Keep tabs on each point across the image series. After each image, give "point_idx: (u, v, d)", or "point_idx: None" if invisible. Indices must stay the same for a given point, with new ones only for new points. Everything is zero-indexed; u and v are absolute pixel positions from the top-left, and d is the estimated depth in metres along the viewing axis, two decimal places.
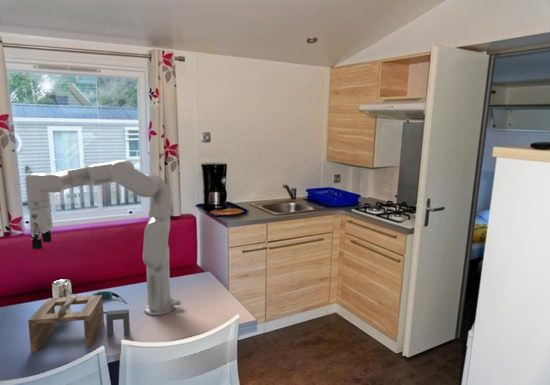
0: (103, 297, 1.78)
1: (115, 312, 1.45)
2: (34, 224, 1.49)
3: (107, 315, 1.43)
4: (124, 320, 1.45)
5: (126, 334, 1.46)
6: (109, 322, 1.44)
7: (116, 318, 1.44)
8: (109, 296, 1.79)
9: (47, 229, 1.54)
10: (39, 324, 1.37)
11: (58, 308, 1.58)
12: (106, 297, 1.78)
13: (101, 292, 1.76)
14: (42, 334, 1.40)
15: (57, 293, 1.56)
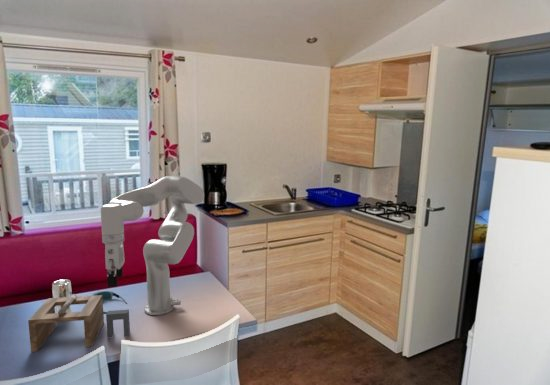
0: (103, 297, 1.78)
1: (115, 312, 1.45)
2: (109, 259, 1.37)
3: (107, 315, 1.43)
4: (124, 320, 1.45)
5: (126, 334, 1.46)
6: (109, 322, 1.44)
7: (116, 318, 1.44)
8: (109, 296, 1.79)
9: (121, 264, 1.42)
10: (39, 324, 1.37)
11: (58, 308, 1.58)
12: (106, 297, 1.78)
13: (101, 292, 1.76)
14: (42, 334, 1.40)
15: (57, 293, 1.56)
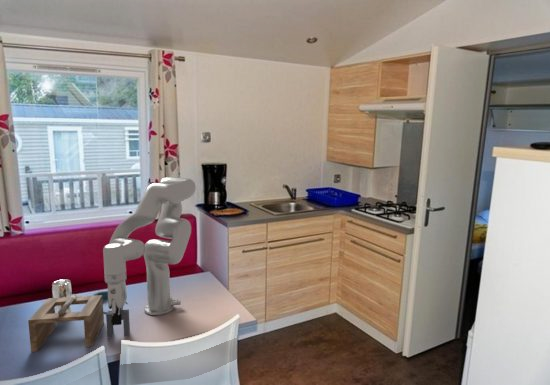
0: (104, 297, 1.77)
1: None
2: (112, 301, 1.40)
3: (107, 315, 1.43)
4: (124, 320, 1.45)
5: (126, 334, 1.46)
6: (109, 322, 1.44)
7: None
8: None
9: (124, 302, 1.44)
10: (39, 324, 1.37)
11: (58, 308, 1.58)
12: (107, 297, 1.78)
13: (102, 292, 1.76)
14: (42, 334, 1.40)
15: (56, 293, 1.56)
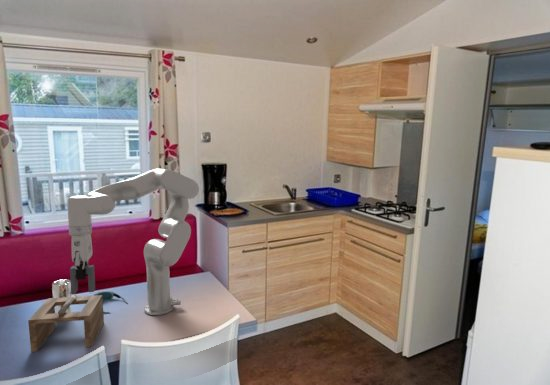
0: (104, 297, 1.77)
1: None
2: (76, 254, 1.36)
3: (71, 269, 1.39)
4: (89, 275, 1.41)
5: (91, 290, 1.42)
6: (73, 277, 1.40)
7: None
8: (110, 296, 1.78)
9: (89, 257, 1.40)
10: (39, 324, 1.37)
11: (58, 308, 1.58)
12: (107, 297, 1.78)
13: (102, 292, 1.76)
14: (42, 334, 1.40)
15: (57, 293, 1.56)
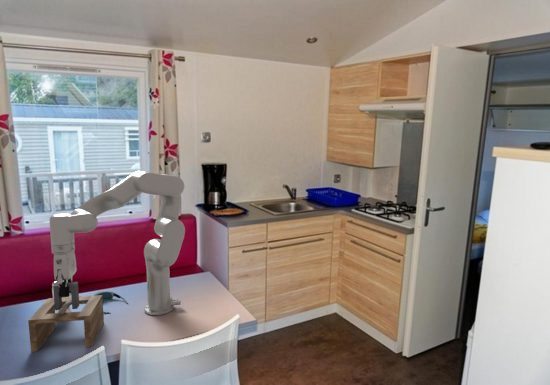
0: (104, 298, 1.77)
1: None
2: (58, 272, 1.37)
3: (54, 287, 1.40)
4: (72, 292, 1.42)
5: (74, 307, 1.43)
6: (56, 294, 1.41)
7: None
8: (110, 296, 1.78)
9: (72, 274, 1.41)
10: (39, 324, 1.37)
11: None
12: (107, 297, 1.78)
13: (102, 292, 1.76)
14: (42, 334, 1.40)
15: None
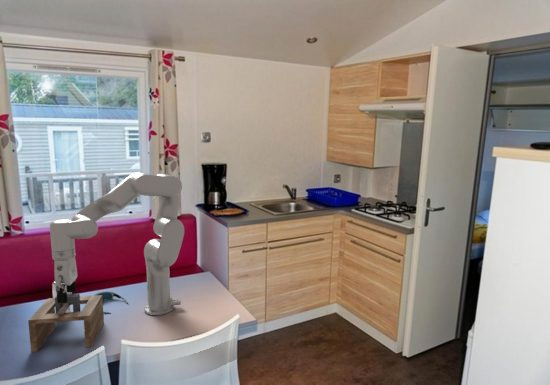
0: (104, 298, 1.77)
1: None
2: (59, 276, 1.37)
3: (56, 298, 1.41)
4: (74, 304, 1.43)
5: None
6: (58, 306, 1.42)
7: None
8: (110, 297, 1.78)
9: (72, 280, 1.41)
10: (39, 324, 1.37)
11: None
12: (107, 298, 1.78)
13: (102, 293, 1.76)
14: (42, 334, 1.40)
15: None
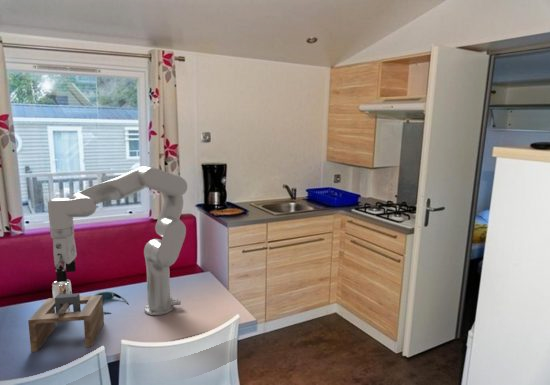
0: (104, 298, 1.77)
1: (64, 296, 1.43)
2: (58, 254, 1.35)
3: (56, 299, 1.41)
4: (74, 304, 1.43)
5: None
6: (58, 306, 1.42)
7: (65, 302, 1.42)
8: (110, 297, 1.78)
9: (72, 259, 1.40)
10: (39, 324, 1.37)
11: None
12: (107, 298, 1.78)
13: (102, 293, 1.76)
14: (42, 334, 1.40)
15: (57, 293, 1.56)
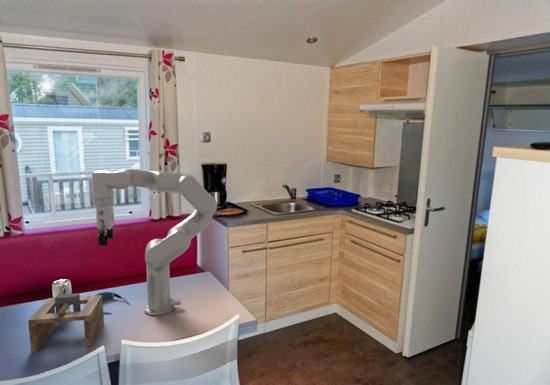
0: (105, 298, 1.77)
1: (64, 296, 1.43)
2: (100, 220, 1.52)
3: (56, 299, 1.41)
4: (74, 304, 1.43)
5: None
6: (58, 306, 1.42)
7: (65, 302, 1.42)
8: (111, 297, 1.78)
9: (111, 225, 1.56)
10: (39, 324, 1.37)
11: None
12: (108, 298, 1.78)
13: (103, 293, 1.76)
14: (42, 334, 1.40)
15: (57, 293, 1.56)
